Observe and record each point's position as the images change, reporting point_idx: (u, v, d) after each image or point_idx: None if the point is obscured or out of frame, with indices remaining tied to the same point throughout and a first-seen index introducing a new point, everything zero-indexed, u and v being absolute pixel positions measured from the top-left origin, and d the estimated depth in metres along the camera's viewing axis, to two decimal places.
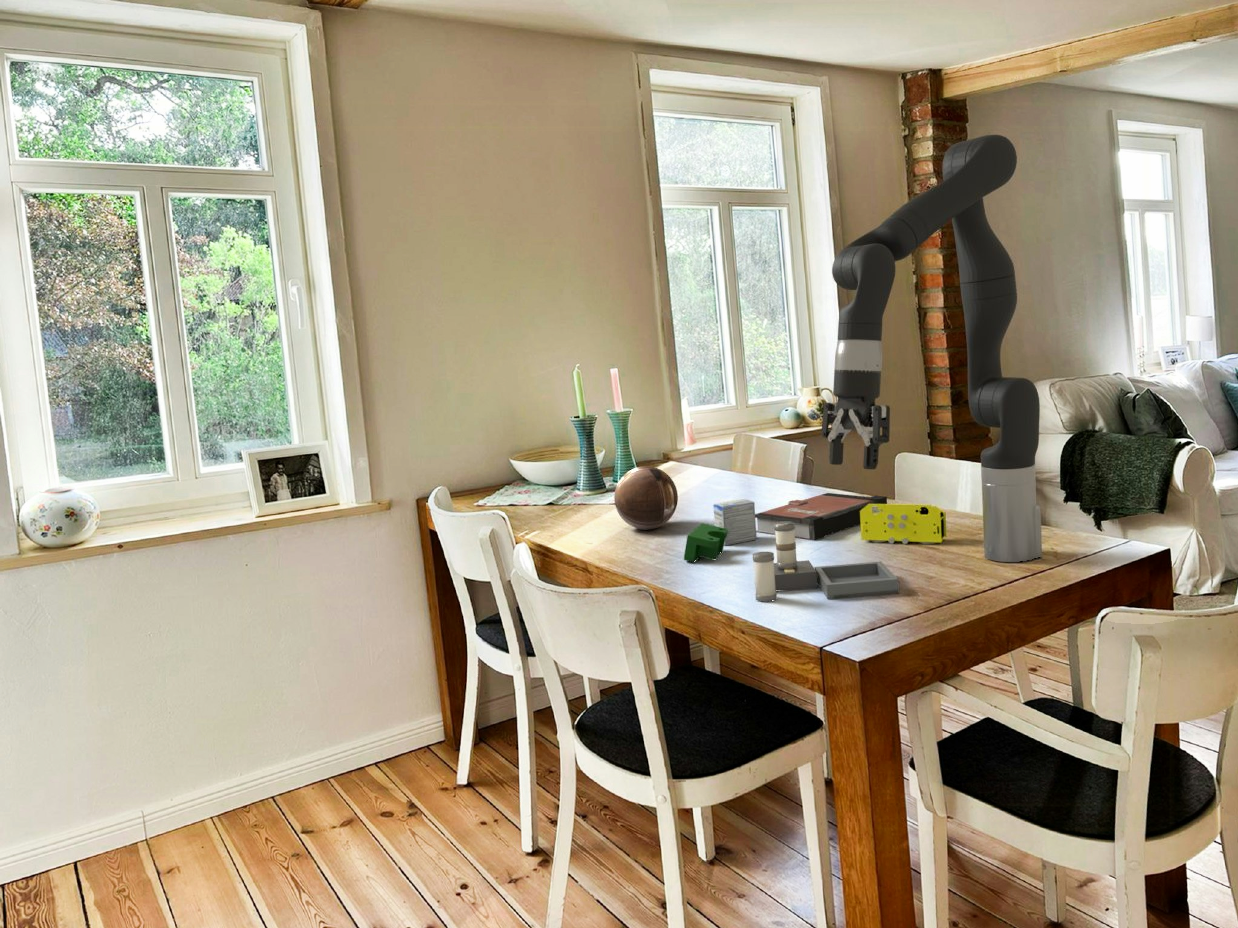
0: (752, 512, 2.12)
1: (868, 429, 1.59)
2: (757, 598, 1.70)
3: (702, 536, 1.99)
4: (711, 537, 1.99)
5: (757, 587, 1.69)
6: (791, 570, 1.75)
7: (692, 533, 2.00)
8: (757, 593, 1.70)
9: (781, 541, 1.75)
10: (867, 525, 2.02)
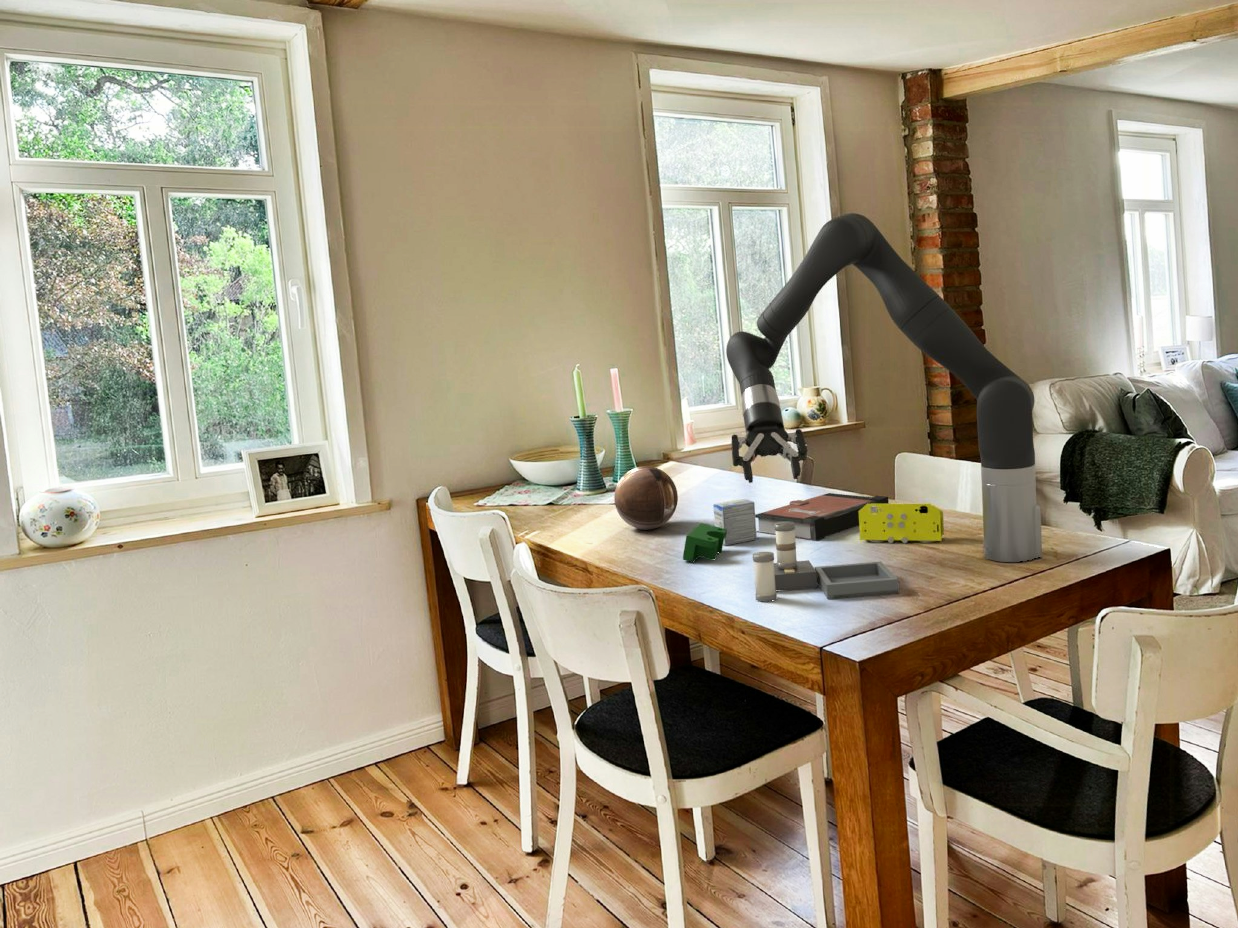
0: (752, 512, 2.12)
1: None
2: (757, 598, 1.70)
3: (701, 536, 1.99)
4: (710, 537, 1.99)
5: (757, 587, 1.69)
6: (791, 570, 1.75)
7: (691, 533, 2.00)
8: (757, 593, 1.70)
9: (781, 541, 1.75)
10: (866, 525, 2.02)
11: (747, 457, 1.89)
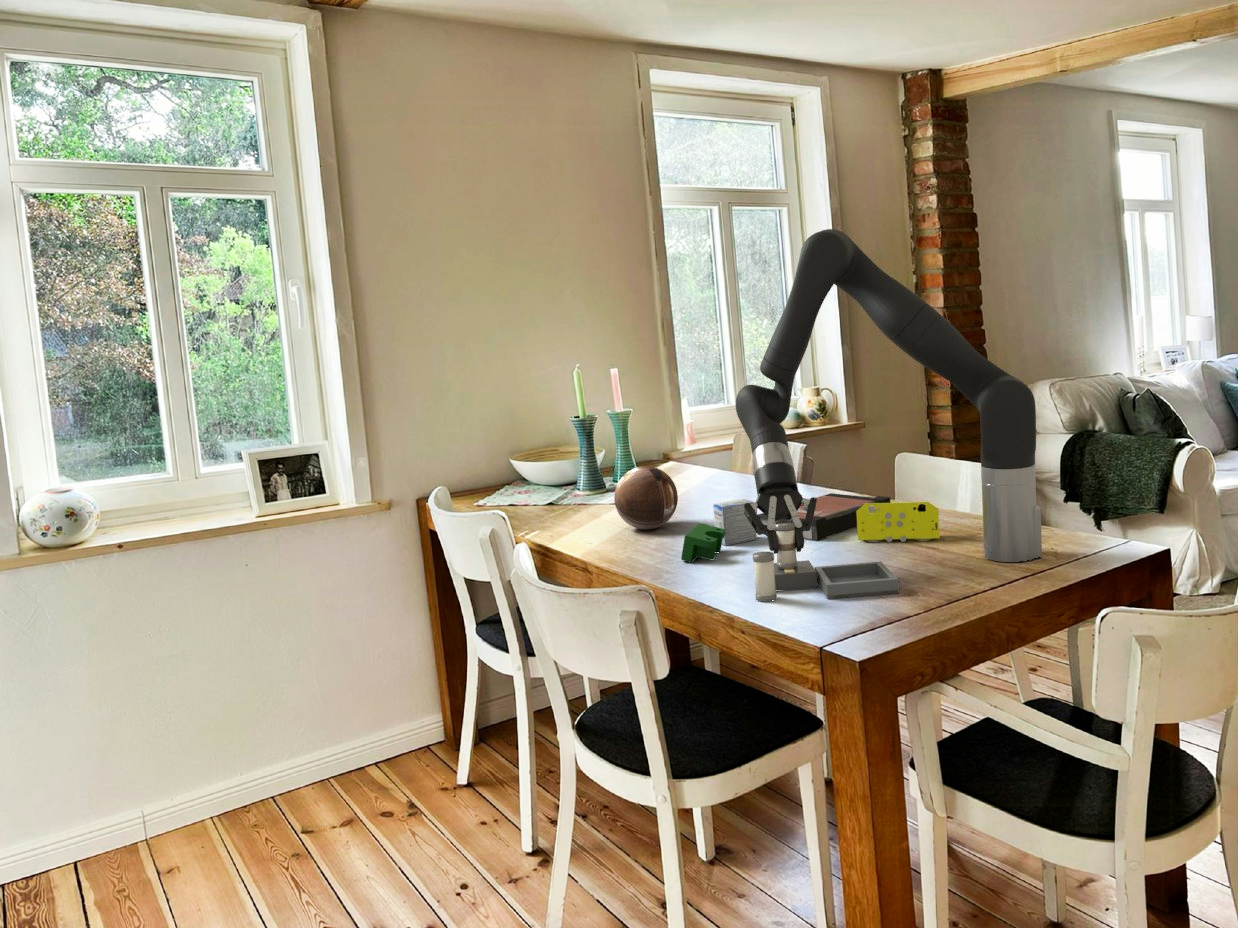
0: None
1: None
2: (757, 598, 1.70)
3: (699, 536, 1.99)
4: (708, 537, 1.99)
5: (757, 587, 1.69)
6: (791, 570, 1.75)
7: (690, 533, 2.00)
8: (757, 593, 1.70)
9: (781, 541, 1.75)
10: (864, 525, 2.02)
11: (771, 526, 1.77)
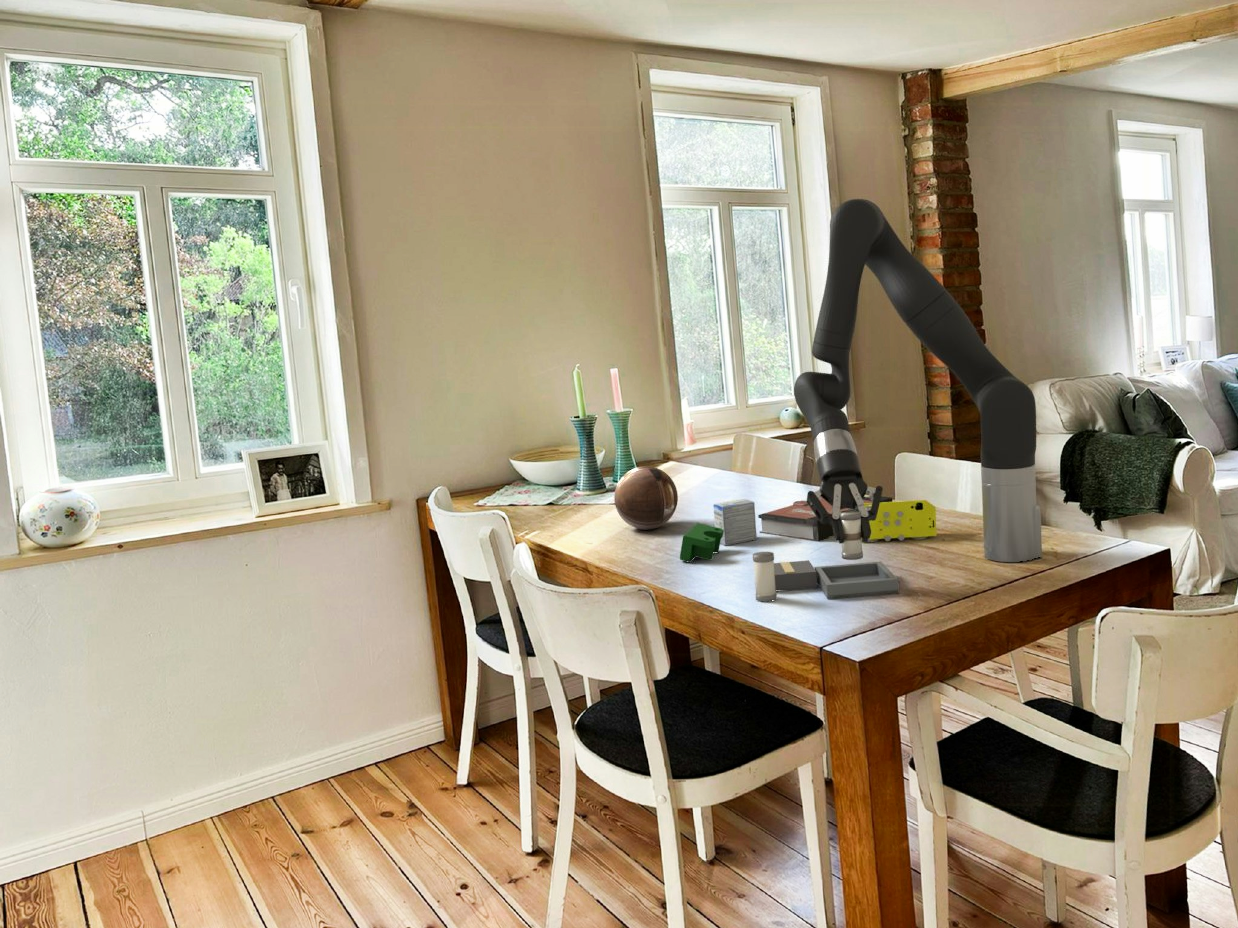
0: (752, 512, 2.12)
1: (832, 511, 1.74)
2: (757, 598, 1.70)
3: (698, 536, 1.99)
4: (707, 537, 2.00)
5: (757, 587, 1.69)
6: (791, 570, 1.75)
7: (688, 533, 2.00)
8: (757, 593, 1.70)
9: (847, 530, 1.70)
10: None
11: (837, 515, 1.71)
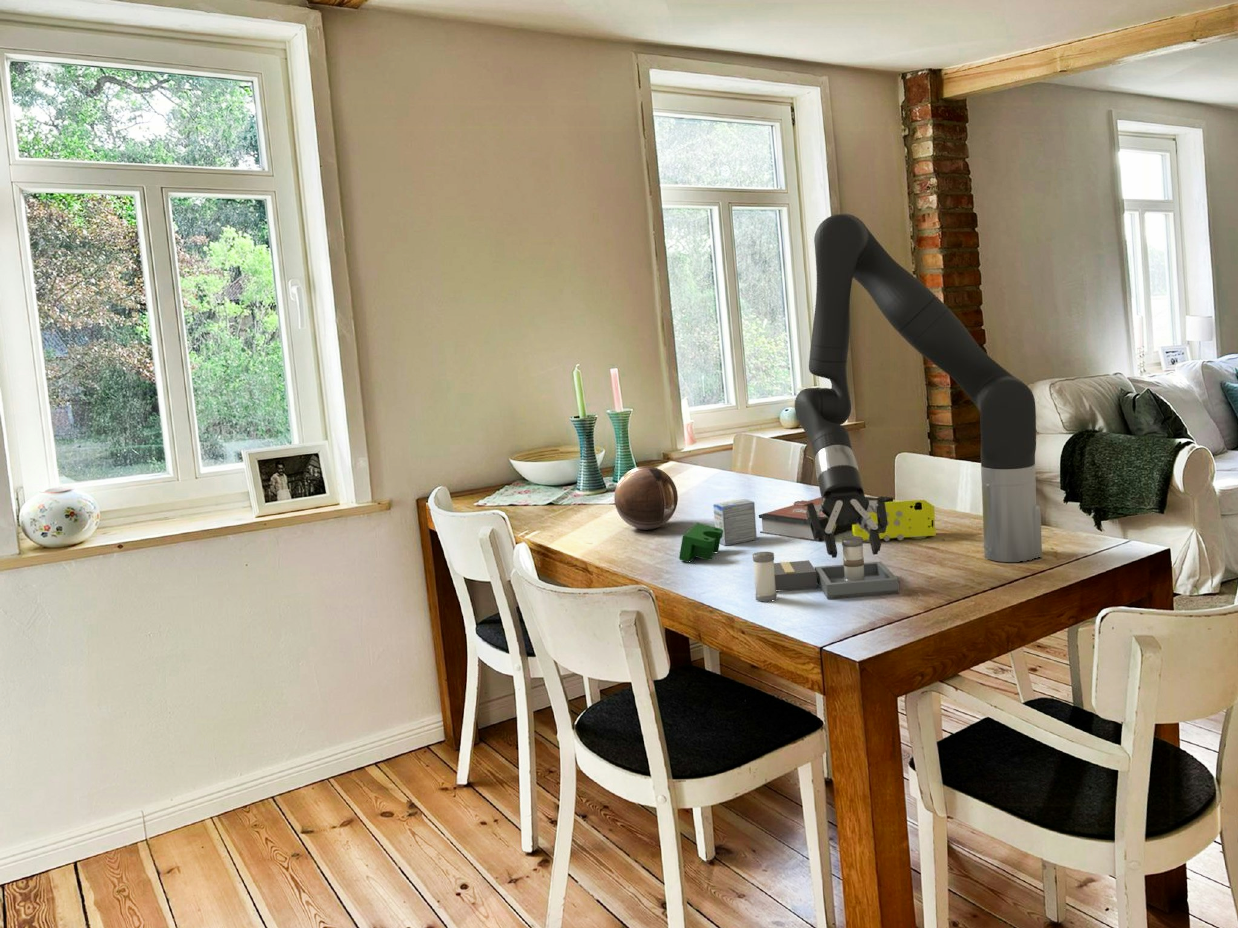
0: (752, 512, 2.12)
1: None
2: (757, 598, 1.70)
3: (697, 536, 1.99)
4: (706, 537, 2.00)
5: (757, 587, 1.69)
6: (791, 570, 1.75)
7: (687, 533, 2.00)
8: (757, 593, 1.70)
9: (849, 556, 1.71)
10: None
11: (830, 529, 1.72)
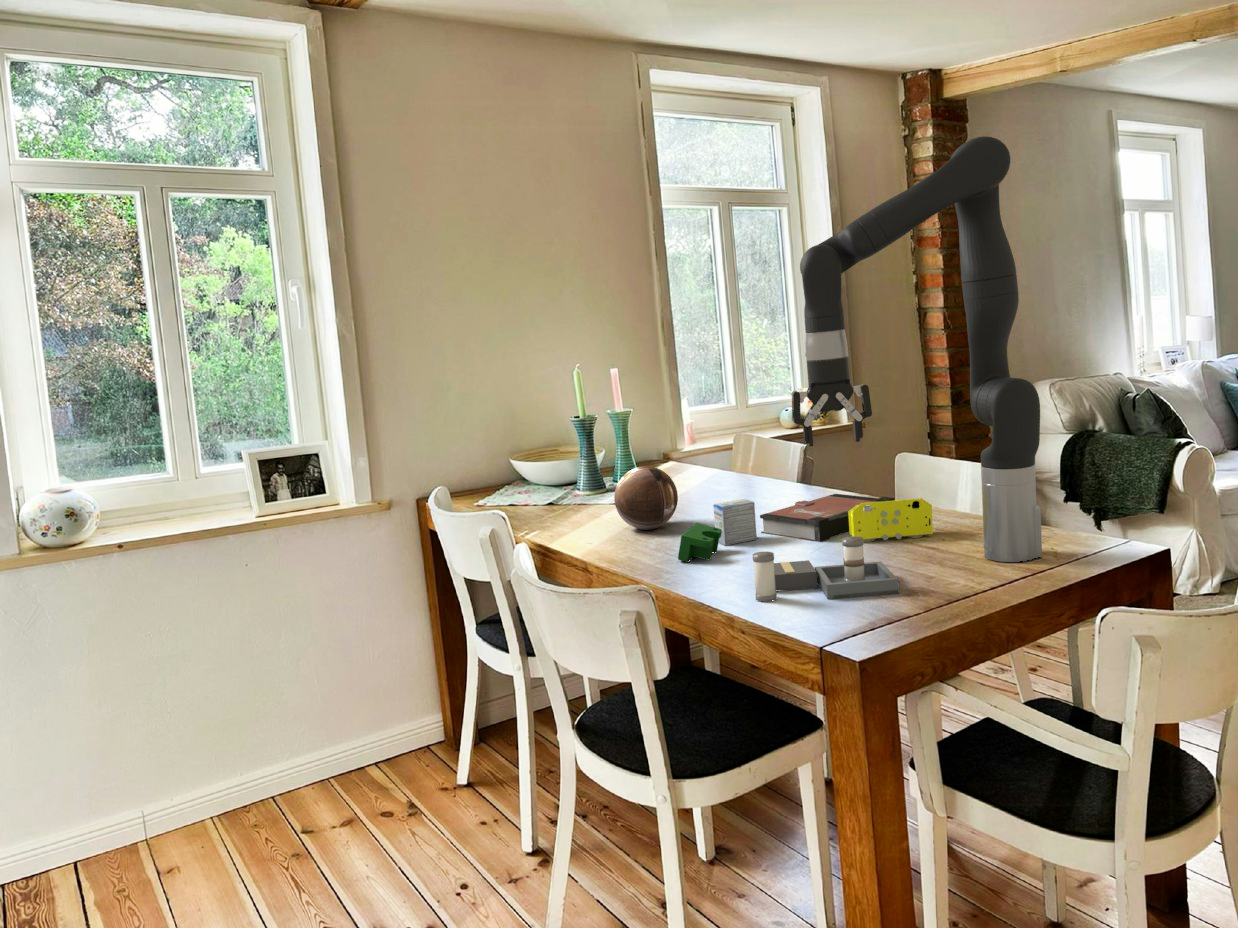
0: (752, 512, 2.12)
1: (809, 411, 1.82)
2: (757, 598, 1.70)
3: (696, 536, 1.99)
4: (705, 537, 2.00)
5: (757, 587, 1.69)
6: (791, 570, 1.75)
7: (686, 533, 2.00)
8: (757, 593, 1.70)
9: (849, 557, 1.71)
10: (860, 525, 2.02)
11: (808, 423, 1.81)
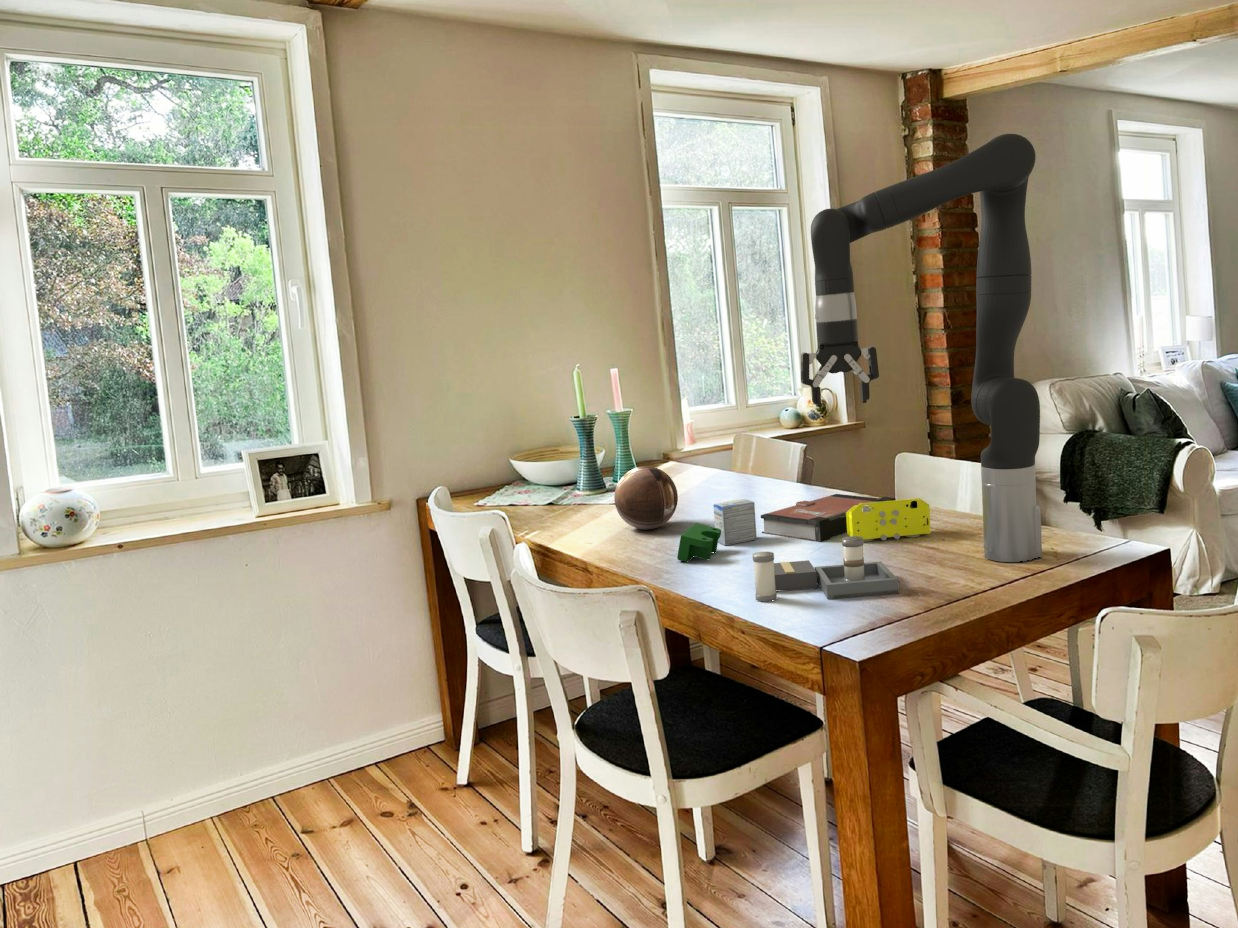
0: (752, 512, 2.12)
1: (817, 372, 1.87)
2: (757, 598, 1.70)
3: (695, 536, 1.99)
4: (704, 537, 2.00)
5: (757, 587, 1.69)
6: (791, 570, 1.75)
7: (685, 533, 2.00)
8: (757, 593, 1.70)
9: (849, 557, 1.71)
10: (859, 525, 2.02)
11: (817, 384, 1.85)
